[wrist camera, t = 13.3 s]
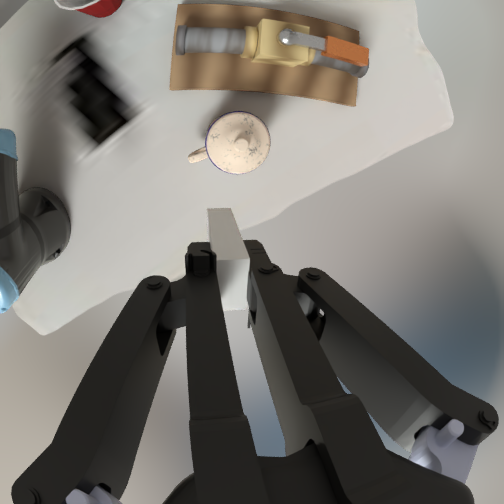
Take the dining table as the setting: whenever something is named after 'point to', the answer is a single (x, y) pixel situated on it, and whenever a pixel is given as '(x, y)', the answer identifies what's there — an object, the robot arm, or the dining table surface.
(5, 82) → the dining table surface
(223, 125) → the teacup with lid
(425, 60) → the dining table surface
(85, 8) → the plastic cup
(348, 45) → the valve lever
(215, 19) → the pipe valve
